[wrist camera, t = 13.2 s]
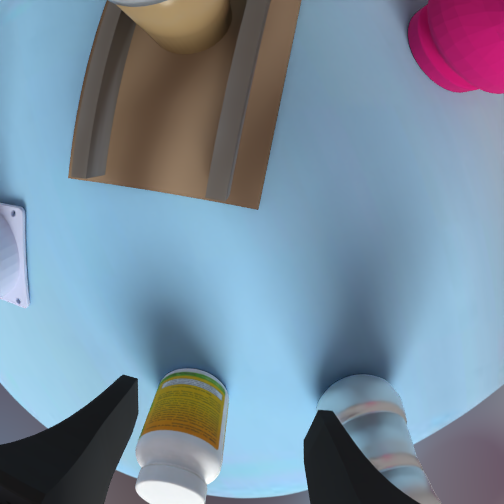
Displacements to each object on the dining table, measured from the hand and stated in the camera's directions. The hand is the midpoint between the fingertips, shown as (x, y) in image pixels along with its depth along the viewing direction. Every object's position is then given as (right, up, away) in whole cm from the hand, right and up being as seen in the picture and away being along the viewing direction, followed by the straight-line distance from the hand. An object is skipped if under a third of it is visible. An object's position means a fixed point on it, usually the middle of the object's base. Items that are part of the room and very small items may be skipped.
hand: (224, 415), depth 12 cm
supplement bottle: (-3, -4, +11) cm, 13 cm away
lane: (-3, +18, +4) cm, 19 cm away
